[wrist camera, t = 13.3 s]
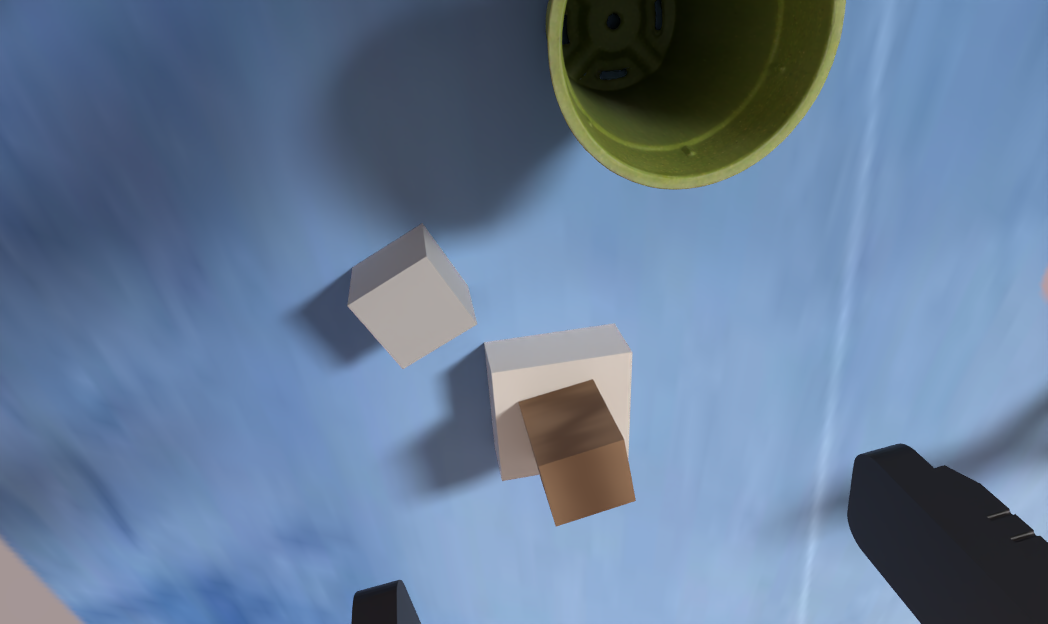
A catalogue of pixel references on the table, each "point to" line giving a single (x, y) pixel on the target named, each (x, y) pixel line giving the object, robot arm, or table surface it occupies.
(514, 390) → the base block
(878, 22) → the table surface
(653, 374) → the table surface
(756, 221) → the table surface
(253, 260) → the table surface
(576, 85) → the plant pot
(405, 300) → the grey block
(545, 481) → the walnut cube
